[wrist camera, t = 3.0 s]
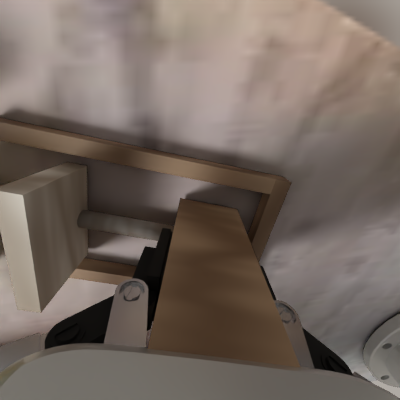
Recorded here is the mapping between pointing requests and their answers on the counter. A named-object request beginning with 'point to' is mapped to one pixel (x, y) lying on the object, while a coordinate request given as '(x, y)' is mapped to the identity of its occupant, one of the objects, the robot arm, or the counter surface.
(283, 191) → the rails
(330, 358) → the robot arm
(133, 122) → the counter surface
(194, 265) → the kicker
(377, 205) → the counter surface
